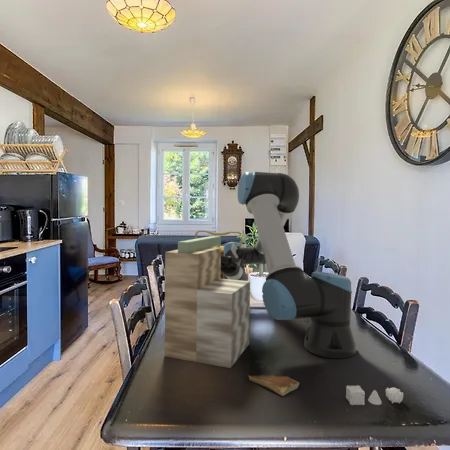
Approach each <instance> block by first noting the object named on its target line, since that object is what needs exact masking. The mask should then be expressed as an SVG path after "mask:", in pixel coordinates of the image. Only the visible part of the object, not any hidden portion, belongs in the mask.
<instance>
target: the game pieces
mask: <svg viewBox="0 0 450 450" xmlns="http://www.w3.org/2000/svg"><path fill="white" fill-rule="evenodd" d="M345 389H346V390H345V391H346V392H345V398H346V399H347V401H348V402H349V404H350V406H354V405H355V406H365V404H366V403H365V396H366V393H365V390H364V389H363V388H361V385H359V384H357V385H350V384H349V385H346V387H345ZM385 396H386V397H387V399H388V400H389V401H390V402H391V404H394V403H396V404H401V402H403V399H404V392H403V391H402V392H401V389H400V388H396V387H390V388H389V387H386V388H385ZM367 401H368V402H369V404H372V405H375V406H380V405H382V404H383V403H382V400H381V398H380V396H379V393H378V391H377V390H376V389H373V391H372V392H371V394H370V395H369V397H368V399H367Z"/></svg>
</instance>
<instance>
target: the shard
mask: <svg viewBox="0 0 450 450" xmlns="http://www.w3.org/2000/svg"><path fill="white" fill-rule="evenodd" d="M247 377H248V378H249V379H248V380H249V381H252V382H253V383H256V384H259V385H260V386H263V387H266V388H267V389H269V390H270V391H272V392H275V393H276V394H278V395H279V396H282V397H284V396H285V395H287V394H289V393H290V392H293V391H294V390H296V389H298V388H299V386H300V382H299V381H297V380H295V379H293V378H291V377H289V376H287V375H270V374H269V375H267V374H261V375H260V374H259V375H255V374H254V375H253V374H248V375H247Z"/></svg>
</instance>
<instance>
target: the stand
mask: <svg viewBox="0 0 450 450" xmlns="http://www.w3.org/2000/svg"><path fill="white" fill-rule="evenodd" d="M164 253H165V257H164V258H165V259H164V261H165V263H164V266H165V267H164V270H165V272H164V274H165V275H164V276H165V277H164V357H167V358H172V359H176V360H177V359H178V360H182V361H189V362H193V363H194V362H195V363H199V364H206V365H211V366H217V367H223V368H228V369H231V368H232V367H233V365H234V364H235V363H236V362H237V360H238V359H239V358H240V356H241V355H242V354H243V352H244V351H245V350H246V349H247V347H248V346H249V345H250V320H251V319H250V315H251V314H250V313H251V312H250V311H251V309H250V307H251V306H250V305H251V281H249V280H248V281H241V280H230V279H220V273H221V248H214V247H210V248H206V249H202V250H198V251H194V252H190V253H179V252H178V249H174V250H170V251H165V252H164Z"/></svg>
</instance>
